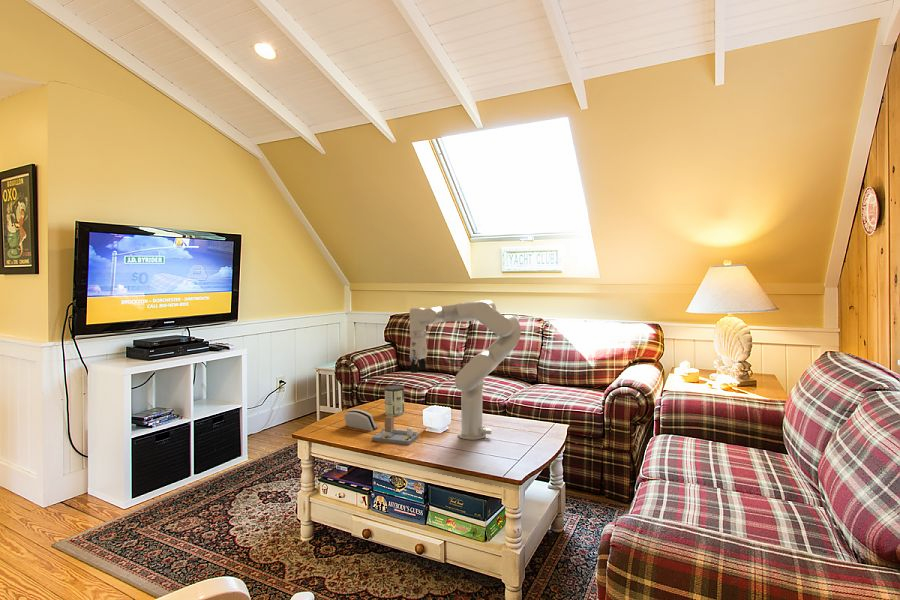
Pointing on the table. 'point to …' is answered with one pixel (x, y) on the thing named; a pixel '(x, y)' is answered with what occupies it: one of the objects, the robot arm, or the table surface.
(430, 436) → the table surface
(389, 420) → the trammel slider
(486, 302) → the robot arm
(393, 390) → the coffee can
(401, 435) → the gauge board
